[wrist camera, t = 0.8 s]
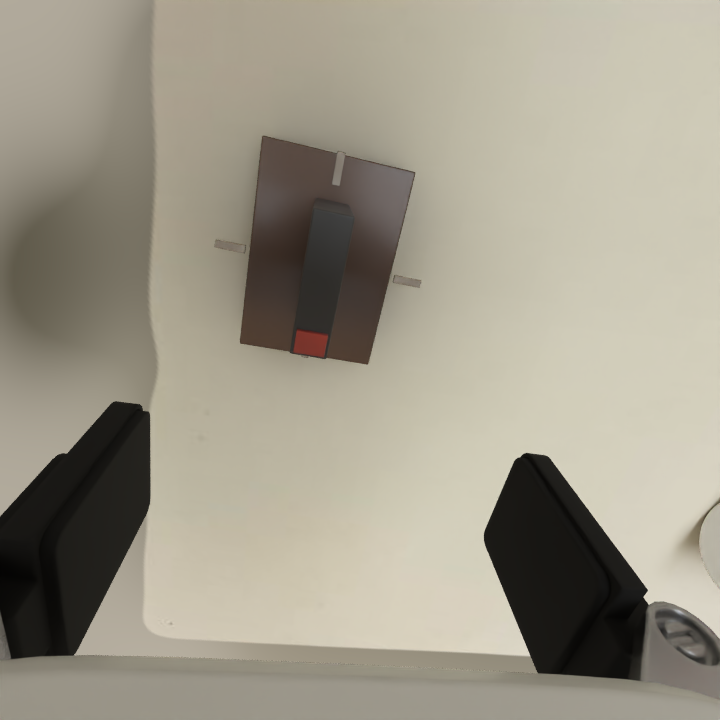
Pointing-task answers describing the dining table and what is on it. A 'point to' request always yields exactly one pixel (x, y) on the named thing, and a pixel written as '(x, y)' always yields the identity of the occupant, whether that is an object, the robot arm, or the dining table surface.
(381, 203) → the knob base block
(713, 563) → the mug
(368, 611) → the dining table surface
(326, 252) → the bar knob
